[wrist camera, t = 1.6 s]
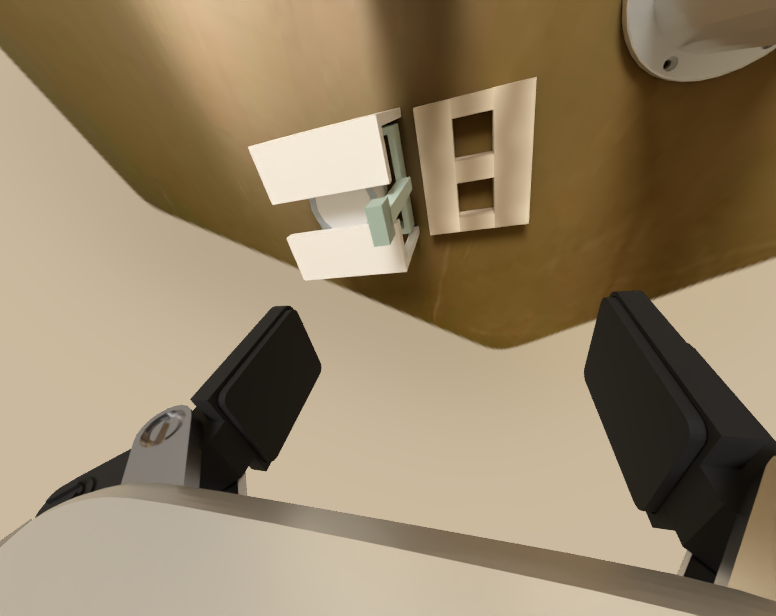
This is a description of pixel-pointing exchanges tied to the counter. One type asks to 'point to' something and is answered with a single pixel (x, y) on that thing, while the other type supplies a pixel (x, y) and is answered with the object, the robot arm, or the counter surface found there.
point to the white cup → (345, 207)
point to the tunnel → (330, 176)
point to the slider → (391, 197)
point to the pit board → (478, 157)
